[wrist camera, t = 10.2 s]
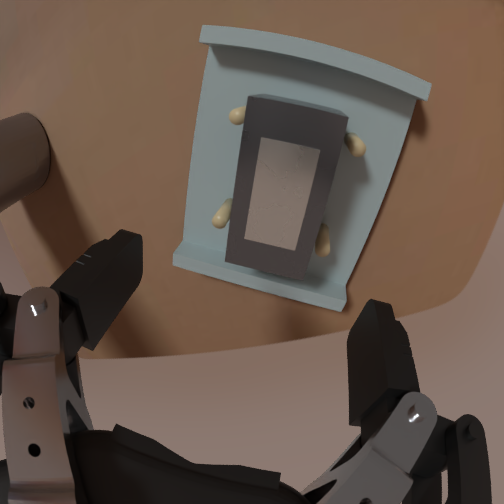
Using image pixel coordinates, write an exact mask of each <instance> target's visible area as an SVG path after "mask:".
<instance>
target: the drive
mask: <svg viewBox="0 0 504 504" xmlns="http://www.w3.org/2000/svg"><path fill="white" fill-rule="evenodd" d="M348 119H349V117H348V116H347V115H345V114H344V113H343V112H342V111H341V110H338V109H334V108H330V107H326V106H322V105H318V104H314V103H310V102H305V101H301V100H296V99H291V98H286V97H281V96H275V95H270V94H257V95H250V96H248V98H247V104H246V111H245V117H244V124H243V130H242V137H241V144H240V150H239V157H238V164H237V171H236V178H235V185H234V193H233V200H232V207H231V215H230V223H229V230H228V238H227V246H226V254H225V262H227V263H231V264H235V265H239V266H243V267H248V268H252V269H256V270H260V271H264V272H268V273H272V274H277V275H281V276H285V277H289V278H293V279H298V280H302V281H303V280H304V277H305V273H306V270H307V267H308V264H309V261H310V258H311V254H312V251H313V248H314V245H315V241H316V238H317V235H318V231H319V228H320V225H321V221H322V218H323V214H324V211H325V207H326V204H327V200H328V197H329V193H330V190H331V186H332V182H333V179H334V175H335V171H336V167H337V164H338V160H339V156H340V152H341V148H342V144H343V140H344V136H345V132H346V128H347V123H348Z"/></svg>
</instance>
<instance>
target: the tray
mask: <svg viewBox="0 0 504 504" xmlns="http://www.w3.org/2000/svg"><path fill="white" fill-rule="evenodd" d="M199 42H200V43H203V44H206V45H210V46H209V51H208V56H207V61H206V67H205V72H204V77H203V83H202V89H201V95H200V101H199V107H198V113H197V120H196V127H195V134H194V141H193V148H192V156H191V164H190V172H189V181H188V190H187V200H186V210H185V221H184V233H183V241H182V242H181V244H180V245H179V246H178V248H177V249H176V250H175V252H174V253H173V265H174V266H177V267H181V268H184V269H187V270H191V271H194V272H197V273H201V274H204V275H207V276H211V277H214V278H218V279H221V280H225V281H228V282H231V283H235V284H238V285H242V286H246V287H249V288H253V289H256V290H260V291H263V292H267V293H271V294H274V295H278V296H282V297H285V298H289V299H293V300H297V301H301V302H304V303H308V304H312V305H316V306H320V307H324V308H327V309H331V310H335V311H339V312H341V311H342V309H343V307H344V305H345V304H346V302H347V298H346V286H345V285H346V283H347V281H348V279H349V277H350V275H351V273H352V270H353V268H354V266H355V264H356V262H357V260H358V257H359V255H360V253H361V251H362V248H363V246H364V244H365V242H366V239H367V237H368V235H369V232H370V230H371V228H372V225H373V223H374V220H375V218H376V216H377V213H378V211H379V208H380V206H381V203H382V201H383V198H384V195H385V193H386V190H387V188H388V185H389V182H390V180H391V177H392V174H393V171H394V169H395V166H396V163H397V160H398V157H399V154H400V151H401V148H402V145H403V142H404V139H405V136H406V133H407V130H408V127H409V124H410V120H411V117H412V114H413V110H414V107H415V103H416V100H423V101H427V100H428V96H429V92H430V89H431V85H432V84H431V83H429V82H426V81H424V80H422V79H420V78H418V77H416V76H413V75H411V74H409V73H407V72H404V71H402V70H399V69H397V68H394V67H392V66H389V65H387V64H384V63H382V62H379V61H376V60H374V59H371V58H368V57H365V56H362V55H359V54H356V53H353V52H350V51H346V50H343V49H340V48H336V47H333V46H329V45H326V44H322V43H318V42H314V41H310V40H305V39H301V38H296V37H292V36H287V35H282V34H276V33H270V32H264V31H258V30H251V29H243V28H234V27H224V26H211V25H202V30H201V34H200V39H199ZM257 94H270V95H275V96H281V97H286V98H291V99H296V100H301V101H305V102H310V103H314V104H318V105H322V106H326V107H330V108H334V109H338V110H341V111H342V112H343V113H344V114H345V115H347V116H348V117H349V119H348V123H347V128H346V132H345V136H344V140H343V144H342V148H341V152H340V156H339V160H338V164H337V167H336V171H335V175H334V179H333V182H332V186H331V190H330V193H329V197H328V200H327V204H326V207H325V211H324V214H323V218H322V221H321V225H320V228H319V231H318V235H317V238H316V241H315V245H314V248H313V251H312V254H311V258H310V261H309V264H308V267H307V270H306V273H305V277H304V280H303V281H302V280H298V279H293V278H289V277H285V276H281V275H277V274H272V273H268V272H264V271H260V270H256V269H252V268H248V267H243V266H239V265H235V264H231V263H227V262H225V254H226V246H227V238H228V230H229V223H230V215H231V207H232V200H233V193H234V185H235V178H236V171H237V164H238V157H239V150H240V144H241V137H242V130H243V124H244V117H245V111H246V104H247V98H248V96H250V95H257Z"/></svg>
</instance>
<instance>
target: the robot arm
mask: <svg viewBox="0 0 504 504" xmlns="http://www.w3.org/2000/svg"><path fill="white" fill-rule="evenodd" d="M49 167H50V152H49V145H48V141H47V137H46V134H45V132H44V129H43V128H42V126H41V124H40V123H39V121H38V120H37V119H36V118H35V117H34V116H32V115H31V114H28V113H20V114H17V115H14V116H11V117H8V118H5V119H2V120H0V213H1V212H2V211H4V210H5V209H7V208H8V207H10V206H11V205H13V204H14V203H16V202H17V201H19V200H21V199H22V198H24V197H25V196H27V195H29V194H30V193H32V192H34V191H35V190H37V189H39V188H40V187H41V186H42V185H43V184H44V183H45V181H46V179H47V176H48V173H49ZM142 273H143V241H142V236H141V235H140V234H136V233H133V232H130V231H126V230H123V229H121V230H119V231H118V232H117V233H116V234H115V235H113V236H112V237H111V238H110V239H109V240H107V239H104V240H102V241H100V242H98V243H96V244H94V245H92V246H91V247H90V248H89V249H88V250H87V251H86V252H85V253H84V255H82V256H80V257H79V258H78V259H77V261H76V262H74V263H73V264H72V265H71V266H70V267H69V268H68V269H67V270H66V271H65V272H64V273H63V274H62V275H61V276H60V277H59V278H58V279H57V280H56V281H55V282H54V283H53V284H52V285H51V286H50V287H36V288H32V289H30V290H29V291H27V292H26V293H24V294H23V295H22V296H18V295H11V294H5V292H4V289H3V287H2V284H1V283H0V395H1V393H2V415H3V431H4V442H5V450H6V459H4V460H1V461H0V504H400V503H401V502H402V504H442V480H441V479H442V477H441V472H443V471H445V470H448V498H447V501H446V503H445V504H492V496H491V480H490V468H489V459H488V451H487V444H486V438H485V432H484V428H483V426H482V424H481V422H480V421H479V420H478V419H477V418H476V417H475V416H473V415H469V414H466V415H463V416H461V417H460V418H459V419H457V420H456V421H455V422H454V421H451V420H449V419H446V418H444V417H442V416H439V415H437V411H436V408H435V406H434V404H433V402H432V401H431V400H430V399H429V398H428V397H427V396H426V395H424V394H422V393H420V388H419V383H418V378H417V373H416V369H415V364H414V360H413V357H412V351H411V348H410V347H409V346H410V343H409V339H408V335H407V332H406V331H405V329H404V327H403V326H402V324H401V323H400V321H396V320H395V317H394V313H393V309H392V306H391V304H389V303H385V302H381V301H377V300H373V299H370V300H369V301H368V302H367V303H366V305H365V306H364V308H363V310H362V312H361V313H360V315H359V317H358V318H357V320H356V322H355V323H354V325H353V327H352V328H351V330H350V332H349V335H348V339H347V359H348V383H349V425H352V426H360V427H361V434H359V435H358V436H357V437H356V438H355V440H354V441H353V442H352V443H351V444H350V445H349V446H348V448H347V449H346V450H345V451H344V452H343V453H342V454H341V455H340V457H339V458H338V459H337V460H336V461H335V462H334V463H333V464H332V465H331V466H330V467H329V468H328V469H327V470H326V472H324V473H323V474H322V475H321V476H320V477H319V478H317V479H316V480H315V481H313V482H312V483H311V484H310V485H308V486H307V487H306V488H305V489H304V490H303V491H302V492H301V493H300V492H298V491H297V490H295V489H294V488H292V487H291V486H289V485H287V484H285V483H283V482H281V481H280V475H281V473H279V472H273V471H267V470H261V469H256V468H250V467H246V466H241V465H209V464H195V463H192V462H190V461H188V460H186V459H184V458H183V457H181V456H179V455H178V454H176V453H174V452H173V451H171V450H169V449H168V448H166V447H165V446H163V445H162V444H160V443H159V442H157V441H155V440H154V439H151V438H149V437H146V436H144V435H141V434H139V433H136V432H134V431H132V430H129V429H127V428H125V427H122V426H120V425H118V424H116V425H115V427H114V429H113V431H106V430H94V429H93V425H92V421H91V419H90V415H89V413H88V410H87V407H86V404H85V398H84V393H83V387H82V380H81V373H80V365H79V357H78V353H77V352H78V351H79V349H80V348H81V346H83V347H85V348H87V349H90V350H92V351H93V350H94V348H95V347H96V345H97V344H98V342H99V341H100V339H101V338H102V337H103V335H104V334H105V332H106V331H107V329H108V328H109V326H110V325H111V323H112V322H113V321H114V319H115V318H116V316H117V315H118V313H119V312H120V311H121V309H122V308H123V306H124V305H125V304H126V302H127V301H128V299H129V298H130V297H131V295H132V294H133V292H134V291H135V290H136V288H137V287H138V285H139V283H140V281H141V278H142Z"/></svg>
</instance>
